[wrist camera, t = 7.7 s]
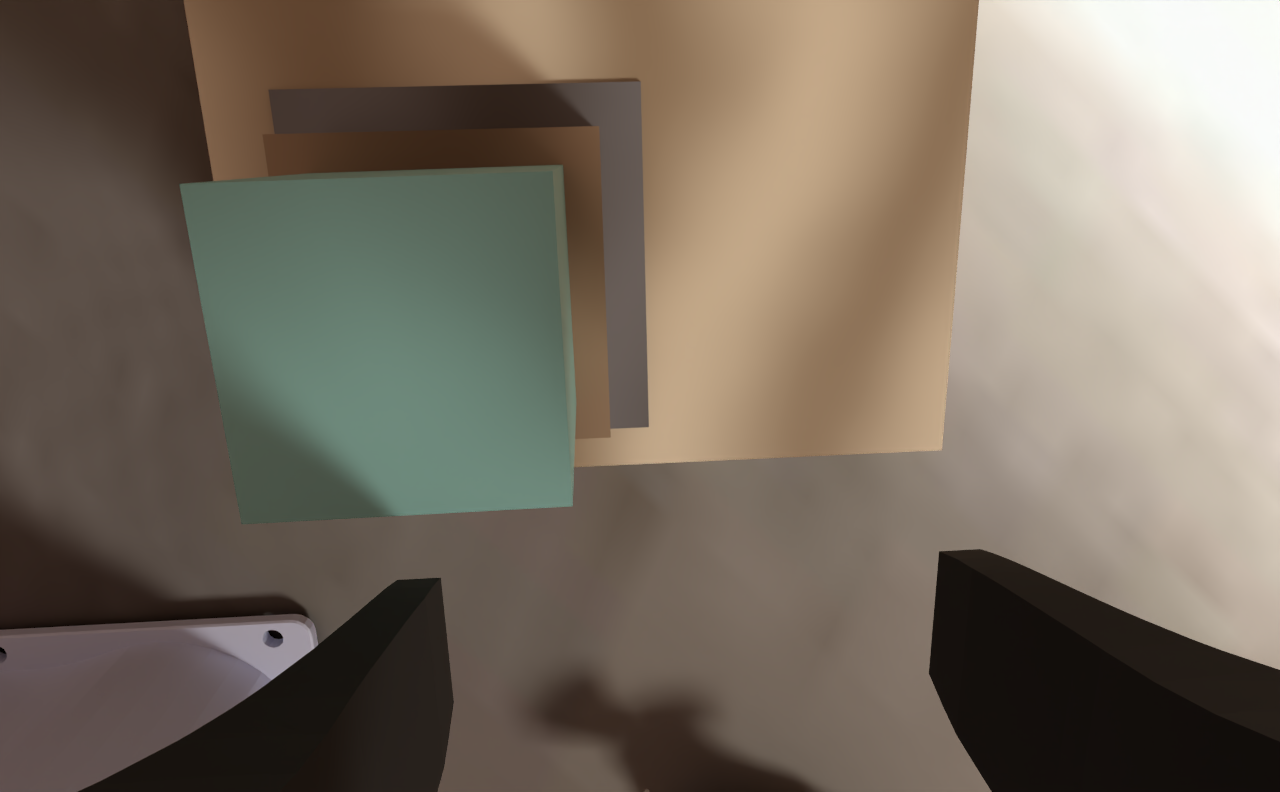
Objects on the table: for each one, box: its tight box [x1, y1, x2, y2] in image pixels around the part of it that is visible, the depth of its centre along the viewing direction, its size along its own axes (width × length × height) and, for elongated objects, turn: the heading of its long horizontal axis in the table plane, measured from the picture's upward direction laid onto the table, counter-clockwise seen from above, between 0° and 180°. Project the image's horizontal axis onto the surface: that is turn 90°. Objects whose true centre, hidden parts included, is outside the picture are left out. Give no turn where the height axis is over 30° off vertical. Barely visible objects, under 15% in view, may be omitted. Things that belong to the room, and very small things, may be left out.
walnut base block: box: [262, 126, 611, 439], centre depth 18 cm, size 6×6×4 cm
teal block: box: [179, 165, 576, 524], centre depth 13 cm, size 5×5×5 cm
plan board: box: [184, 0, 979, 467], centre depth 19 cm, size 17×15×1 cm
